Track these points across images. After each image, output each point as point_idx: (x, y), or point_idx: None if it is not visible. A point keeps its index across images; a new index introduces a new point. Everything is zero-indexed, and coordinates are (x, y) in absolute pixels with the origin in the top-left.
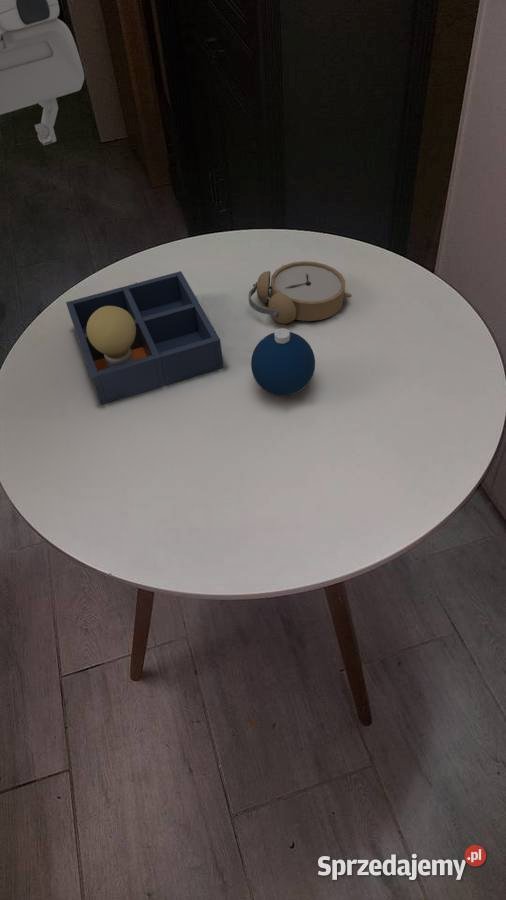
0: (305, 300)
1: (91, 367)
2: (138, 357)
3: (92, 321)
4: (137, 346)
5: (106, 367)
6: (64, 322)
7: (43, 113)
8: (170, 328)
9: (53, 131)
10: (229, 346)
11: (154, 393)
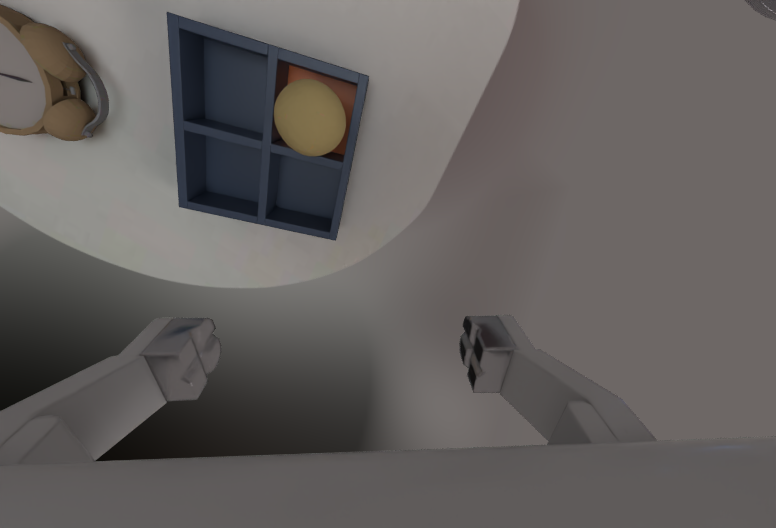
0: (2, 30)
1: (361, 97)
2: None
3: (331, 122)
4: None
5: None
6: (343, 243)
7: (123, 429)
8: (235, 129)
9: (136, 341)
10: None
11: (302, 48)
